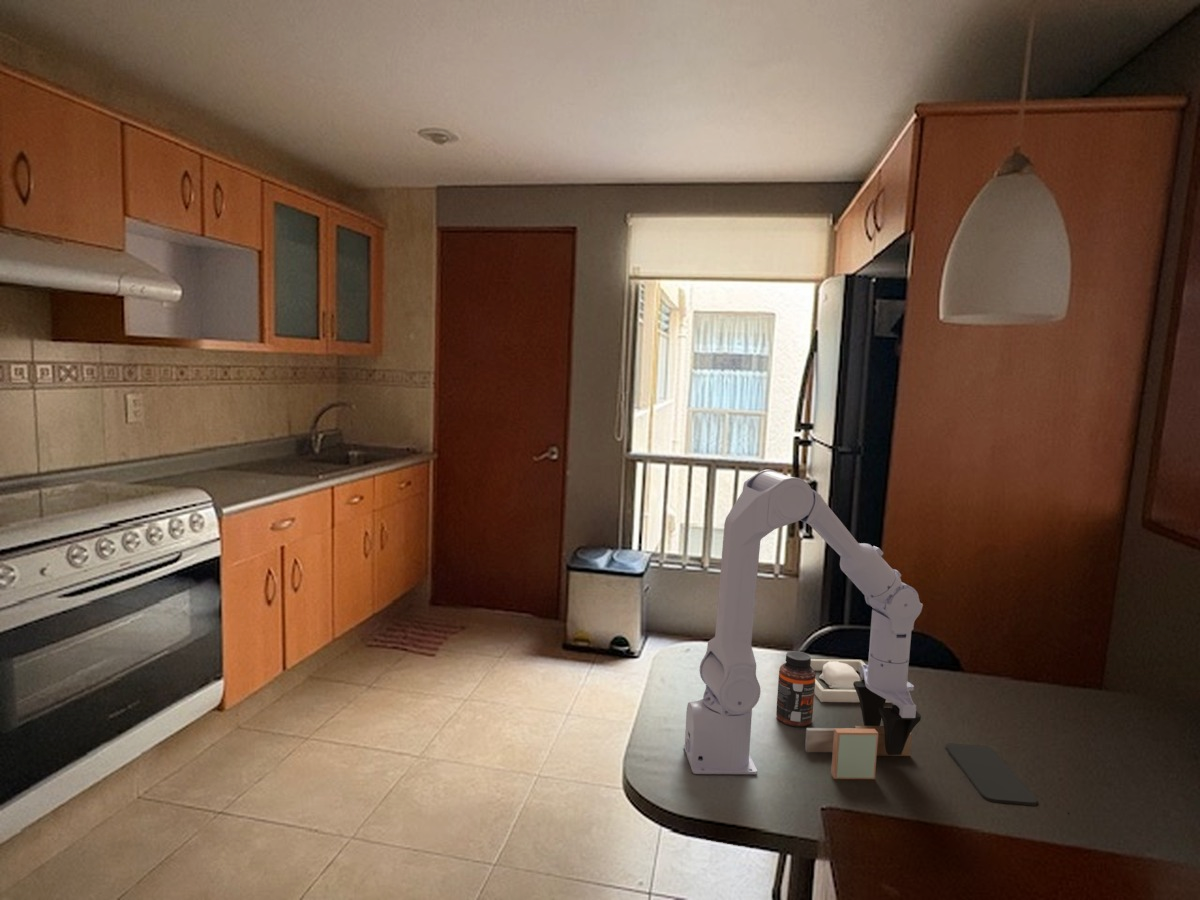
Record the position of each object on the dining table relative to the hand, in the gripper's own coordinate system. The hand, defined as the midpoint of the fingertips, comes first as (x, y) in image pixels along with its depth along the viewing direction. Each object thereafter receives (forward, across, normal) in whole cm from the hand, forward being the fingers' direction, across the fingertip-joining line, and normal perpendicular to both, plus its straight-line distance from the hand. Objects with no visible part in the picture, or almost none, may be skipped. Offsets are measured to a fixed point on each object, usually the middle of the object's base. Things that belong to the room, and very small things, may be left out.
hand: (882, 740), depth 108 cm
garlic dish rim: (+2, +24, -4) cm, 24 cm away
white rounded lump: (+2, +25, -3) cm, 25 cm away
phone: (+2, -6, -14) cm, 15 cm away
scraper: (+2, 0, +4) cm, 4 cm away
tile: (+2, -7, +8) cm, 10 cm away
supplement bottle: (+2, +10, +10) cm, 15 cm away
